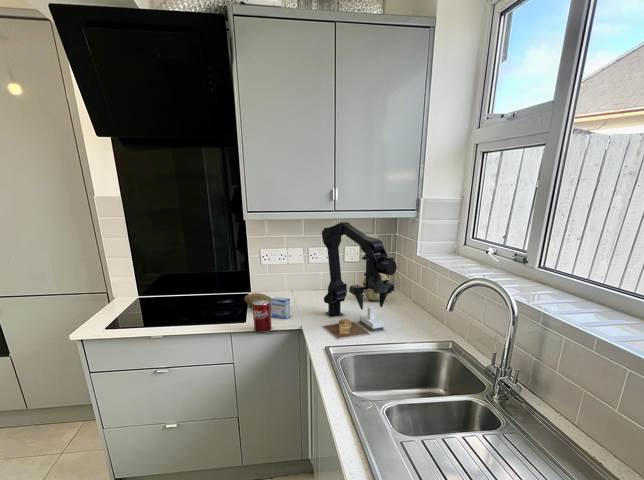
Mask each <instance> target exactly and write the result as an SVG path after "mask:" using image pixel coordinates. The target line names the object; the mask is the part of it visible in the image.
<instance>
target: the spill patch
mask: <svg viewBox="0 0 644 480" xmlns="http://www.w3.org/2000/svg"><path fill="white" fill-rule="evenodd" d="M323 328H324V329H326V330H327V331H328V332H329V333H331V334H332V335H333V336H334V337H336V338H337V339H342V338H348V337H355V336H361V335H369V334H370V333H369V332H368V331H366V330H365V329H363V328H362V327H361V326H359V325H358V324H356V323H355V322H353V321H352V322H351V328H349V334H340V333H339V327H338V323H336V324H328V325H323Z"/></svg>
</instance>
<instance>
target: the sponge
mask: <svg viewBox="0 0 644 480" xmlns="http://www.w3.org/2000/svg"><path fill="white" fill-rule="evenodd" d="M272 298H273V297H271V296H269V295H267V294H264V293H259V292H253V293H250V294H246V295H245V296H244V302H245V304H247V305H249V306H250V307H252V304H253V302H255V301H268V302H269V303H270V309H271V299H272Z"/></svg>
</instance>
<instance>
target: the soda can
mask: <svg viewBox="0 0 644 480" xmlns="http://www.w3.org/2000/svg"><path fill="white" fill-rule="evenodd" d="M251 307H252V316H253V317H252V319H253V329H254V331H255V332H256V333H268V332H270V331H272V329H273V327H272V325H273V324H272V315H271V309H270V303H269V302H268V301H255V302H253V304H252V306H251Z"/></svg>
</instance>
